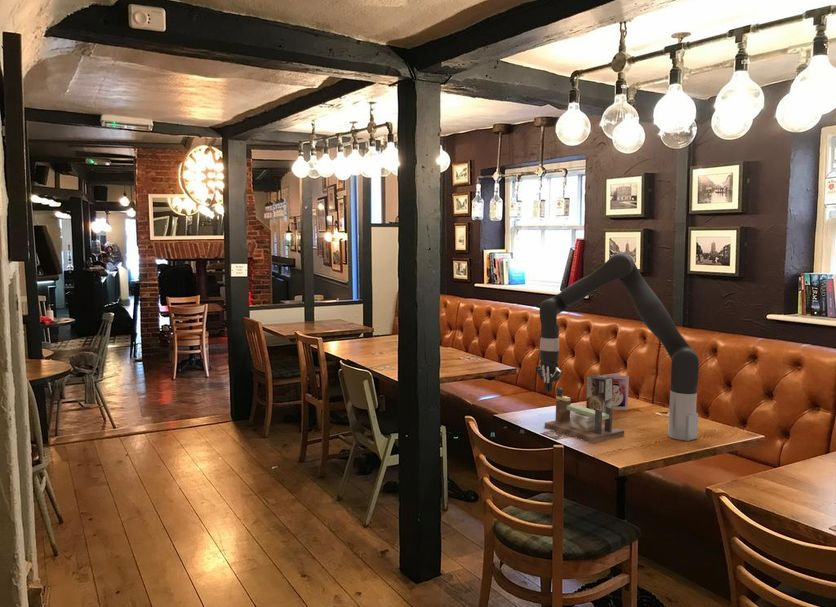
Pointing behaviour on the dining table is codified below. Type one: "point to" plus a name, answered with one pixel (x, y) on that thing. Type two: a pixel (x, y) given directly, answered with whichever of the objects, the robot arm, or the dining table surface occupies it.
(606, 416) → the pale green flat bar
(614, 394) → the greeting card
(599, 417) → the latch base
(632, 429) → the dining table surface
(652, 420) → the dining table surface
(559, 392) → the bolt
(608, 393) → the coffee box
